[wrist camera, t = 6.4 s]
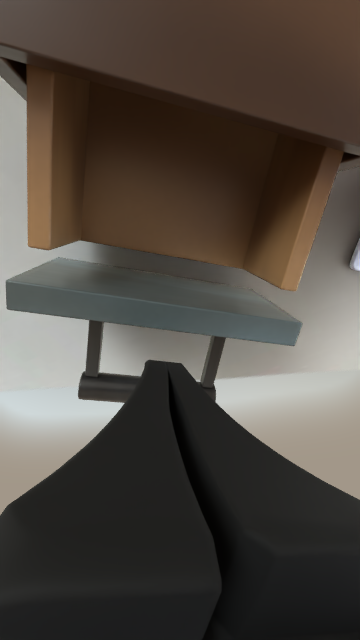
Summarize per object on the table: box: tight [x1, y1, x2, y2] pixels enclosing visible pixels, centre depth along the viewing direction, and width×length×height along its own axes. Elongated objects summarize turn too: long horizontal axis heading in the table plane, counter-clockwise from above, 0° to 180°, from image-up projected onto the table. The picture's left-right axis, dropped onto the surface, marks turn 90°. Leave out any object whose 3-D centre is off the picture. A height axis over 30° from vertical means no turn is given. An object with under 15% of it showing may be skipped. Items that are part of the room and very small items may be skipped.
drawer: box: [6, 64, 344, 403], centre depth 13 cm, size 17×12×6 cm
